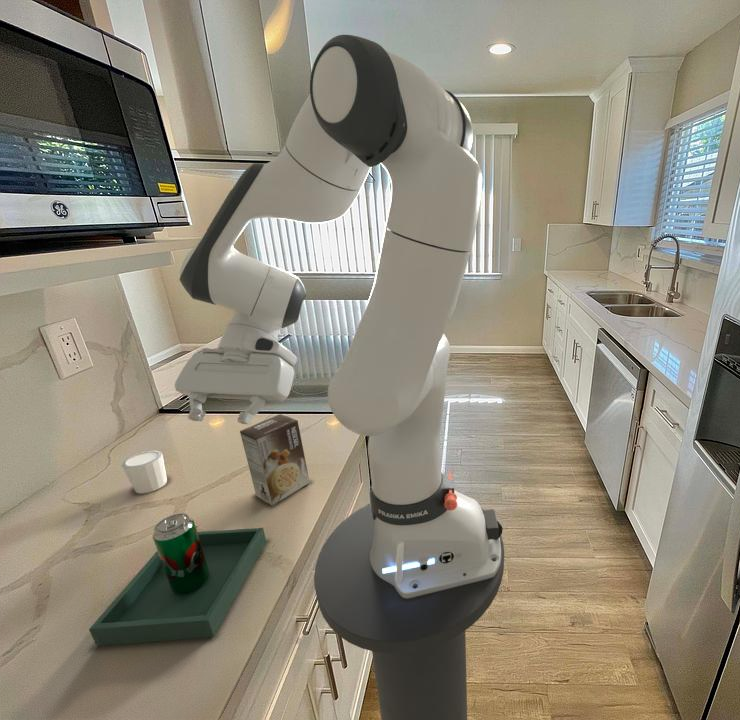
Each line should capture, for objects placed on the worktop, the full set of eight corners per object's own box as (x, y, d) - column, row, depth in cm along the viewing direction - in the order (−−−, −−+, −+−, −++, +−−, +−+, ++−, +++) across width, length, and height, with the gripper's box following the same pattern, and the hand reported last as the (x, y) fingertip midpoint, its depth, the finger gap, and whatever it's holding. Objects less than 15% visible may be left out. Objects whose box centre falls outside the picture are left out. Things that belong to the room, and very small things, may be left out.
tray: (266, 541, 73) (263, 527, 71) (213, 636, 56) (208, 620, 55) (177, 547, 71) (172, 533, 70) (96, 646, 55) (88, 629, 54)
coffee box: (293, 474, 92) (281, 412, 86) (310, 483, 89) (299, 419, 83) (254, 496, 84) (238, 430, 79) (271, 507, 81) (256, 439, 76)
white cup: (173, 485, 88) (164, 458, 86) (133, 499, 83) (123, 471, 81) (167, 472, 93) (159, 446, 90) (129, 485, 88) (119, 458, 86)
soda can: (210, 564, 67) (192, 507, 63) (210, 586, 63) (191, 526, 59) (173, 578, 64) (152, 519, 60) (171, 602, 60) (148, 540, 56)
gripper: (184, 340, 72) (150, 412, 66) (287, 343, 69) (261, 419, 63) (209, 355, 77) (180, 423, 72) (305, 359, 74) (283, 430, 69)
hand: (219, 421), depth 67 cm, fingers open, 8 cm apart
